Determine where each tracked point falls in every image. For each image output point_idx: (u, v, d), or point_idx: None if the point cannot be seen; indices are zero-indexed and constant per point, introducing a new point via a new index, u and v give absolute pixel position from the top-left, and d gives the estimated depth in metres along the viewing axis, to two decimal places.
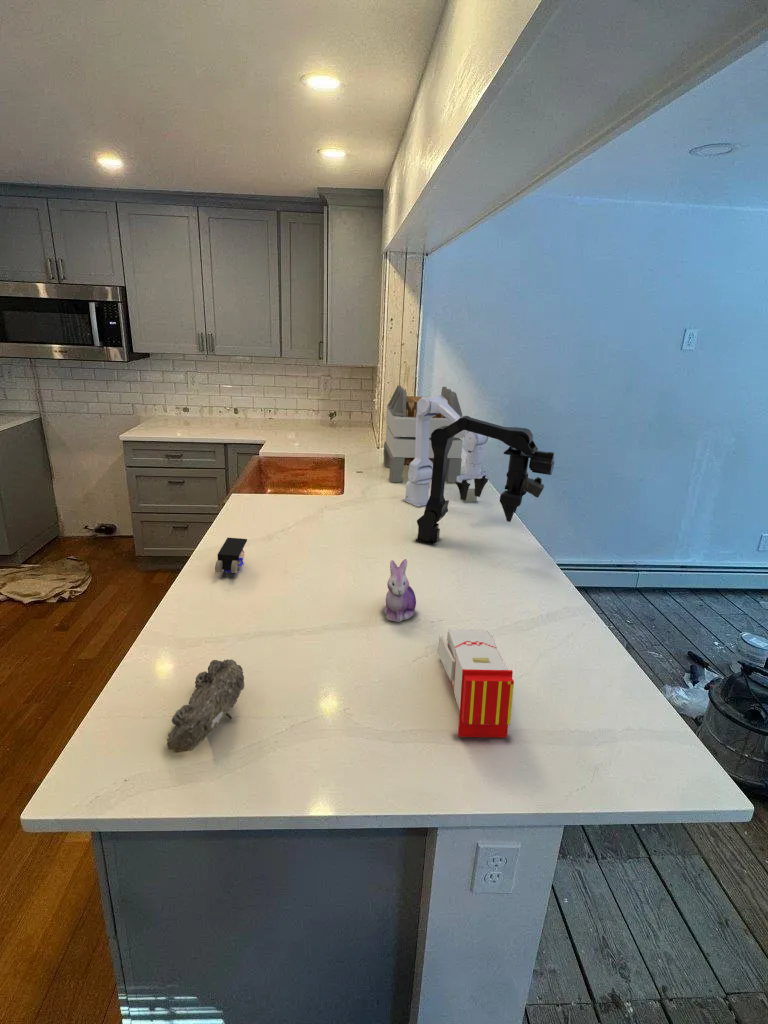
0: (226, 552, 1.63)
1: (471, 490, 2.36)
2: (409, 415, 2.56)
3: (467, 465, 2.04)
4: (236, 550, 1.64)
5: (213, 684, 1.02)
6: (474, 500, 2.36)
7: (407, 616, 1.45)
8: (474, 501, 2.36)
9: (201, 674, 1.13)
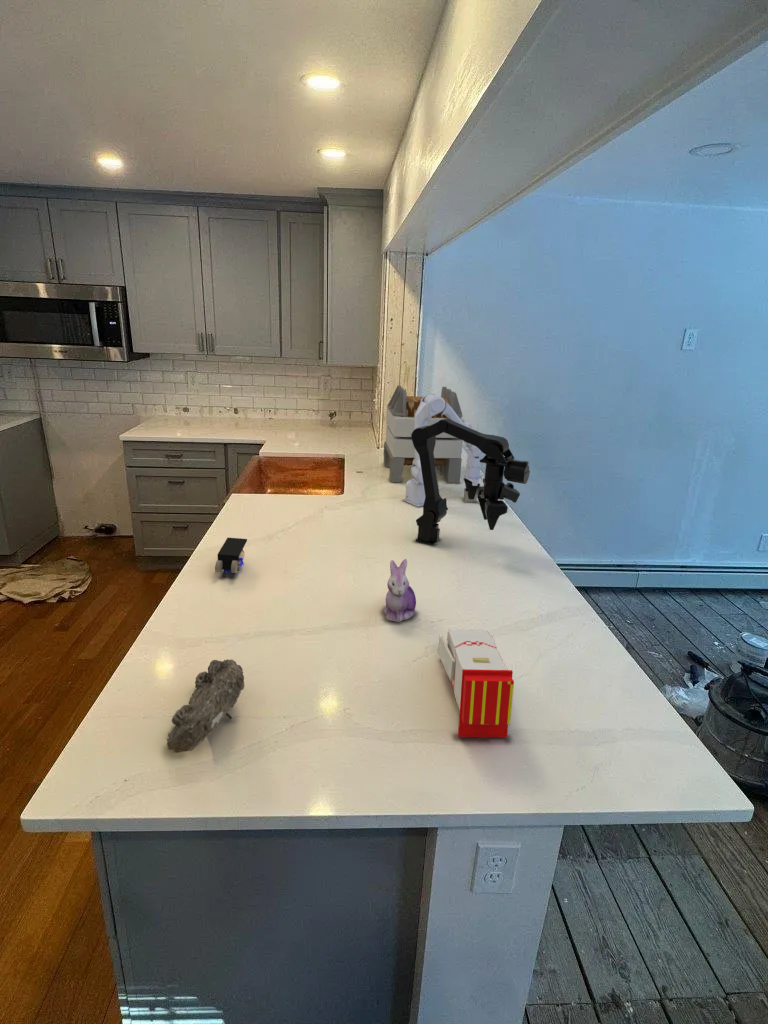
0: (226, 552, 1.63)
1: None
2: (409, 415, 2.56)
3: (473, 469, 2.31)
4: (236, 550, 1.64)
5: (213, 684, 1.02)
6: (474, 500, 2.36)
7: (407, 616, 1.45)
8: (474, 501, 2.36)
9: (201, 674, 1.13)
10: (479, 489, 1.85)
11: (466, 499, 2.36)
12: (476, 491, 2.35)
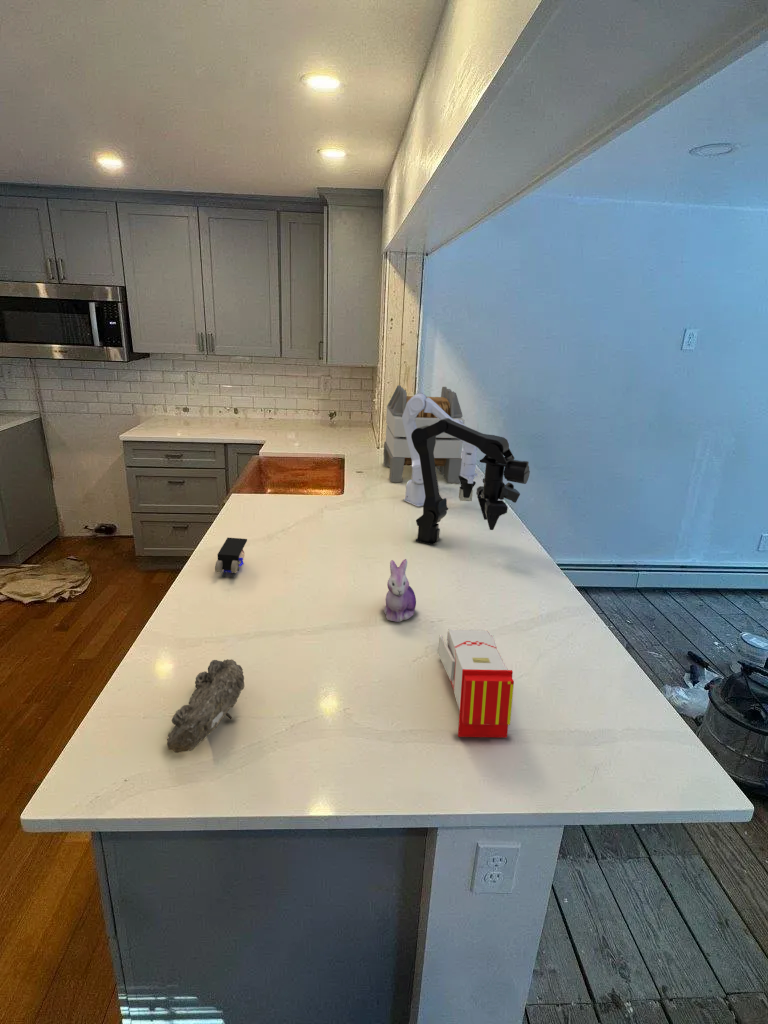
0: (226, 552, 1.63)
1: None
2: None
3: (468, 466, 2.21)
4: (236, 550, 1.64)
5: (213, 684, 1.02)
6: (469, 499, 2.27)
7: (407, 616, 1.45)
8: (469, 500, 2.27)
9: (201, 674, 1.13)
10: (479, 489, 1.85)
11: (461, 498, 2.26)
12: (472, 489, 2.26)
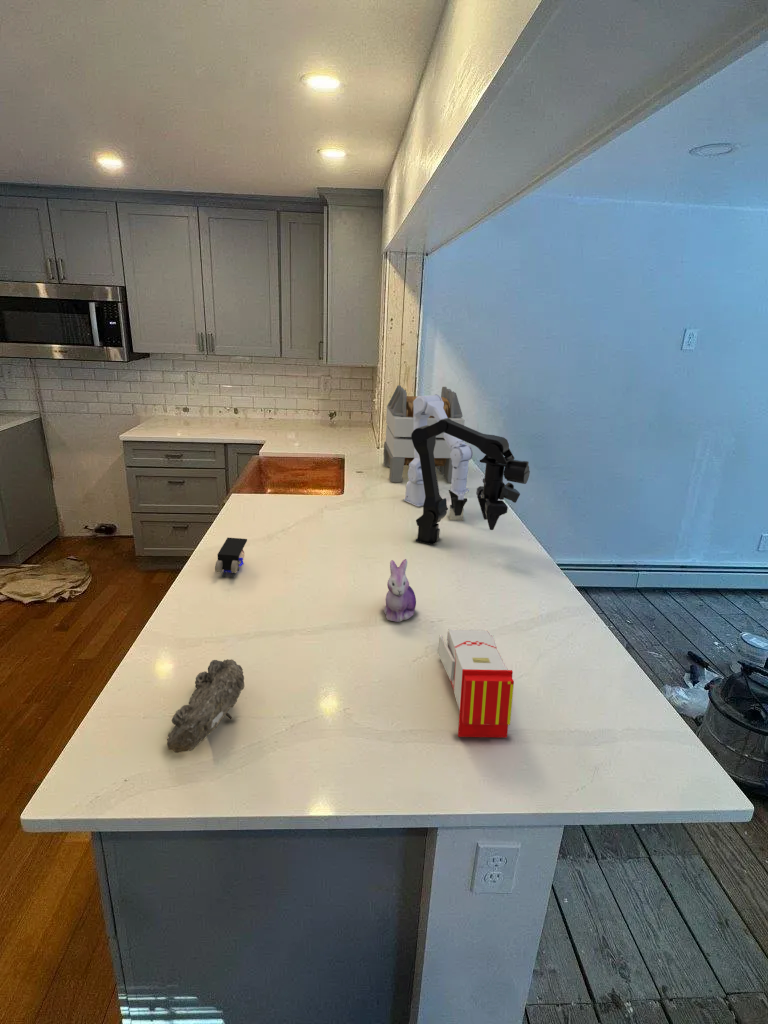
0: (226, 552, 1.63)
1: None
2: (409, 415, 2.56)
3: (459, 482, 2.09)
4: (236, 550, 1.64)
5: (213, 684, 1.02)
6: (460, 518, 2.15)
7: (407, 616, 1.45)
8: (460, 519, 2.15)
9: (201, 674, 1.13)
10: (479, 489, 1.85)
11: (452, 517, 2.15)
12: None
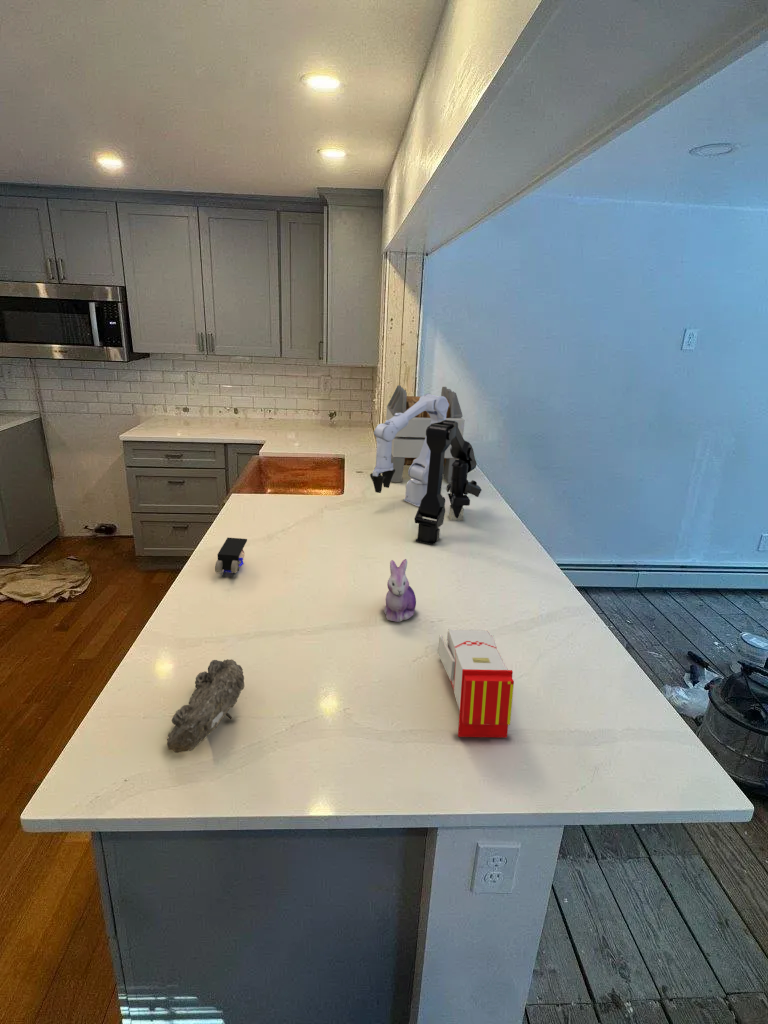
0: (226, 552, 1.63)
1: None
2: None
3: (379, 459, 2.13)
4: (236, 550, 1.64)
5: (213, 684, 1.02)
6: (460, 518, 2.15)
7: (407, 616, 1.45)
8: (460, 519, 2.15)
9: (201, 674, 1.13)
10: (448, 486, 2.20)
11: (452, 517, 2.15)
12: (462, 508, 2.14)
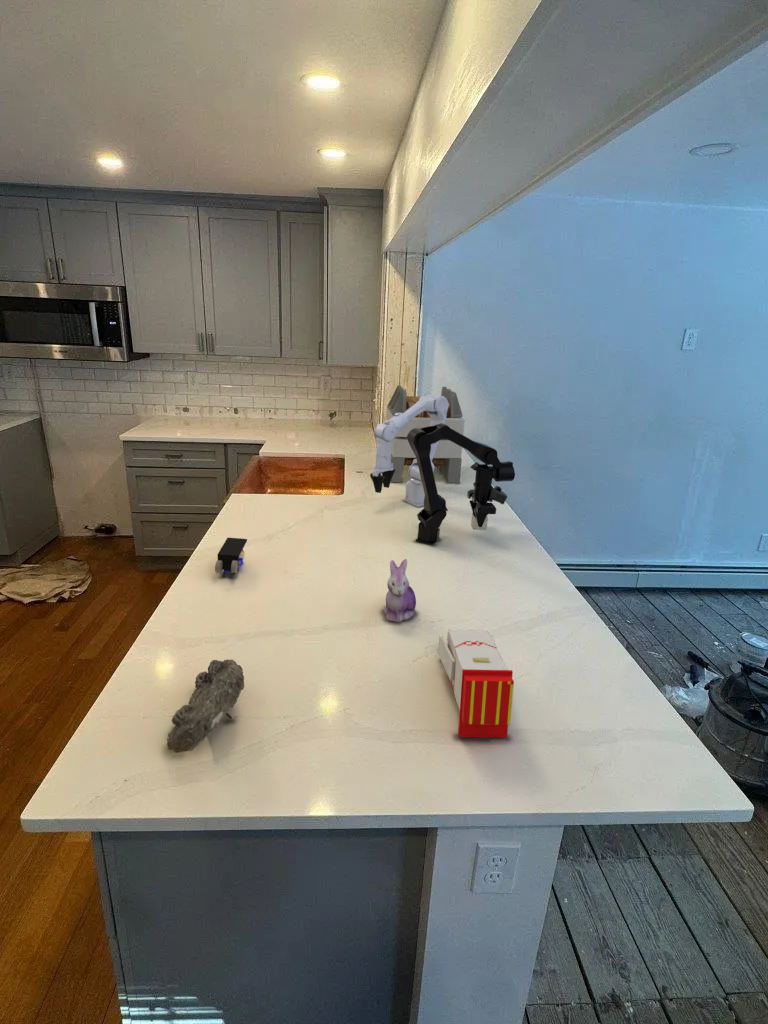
0: (226, 552, 1.63)
1: None
2: None
3: (379, 459, 2.13)
4: (236, 550, 1.64)
5: (213, 684, 1.02)
6: (483, 528, 1.97)
7: (407, 616, 1.45)
8: (484, 528, 1.97)
9: (201, 674, 1.13)
10: (470, 492, 2.02)
11: (475, 526, 1.97)
12: None
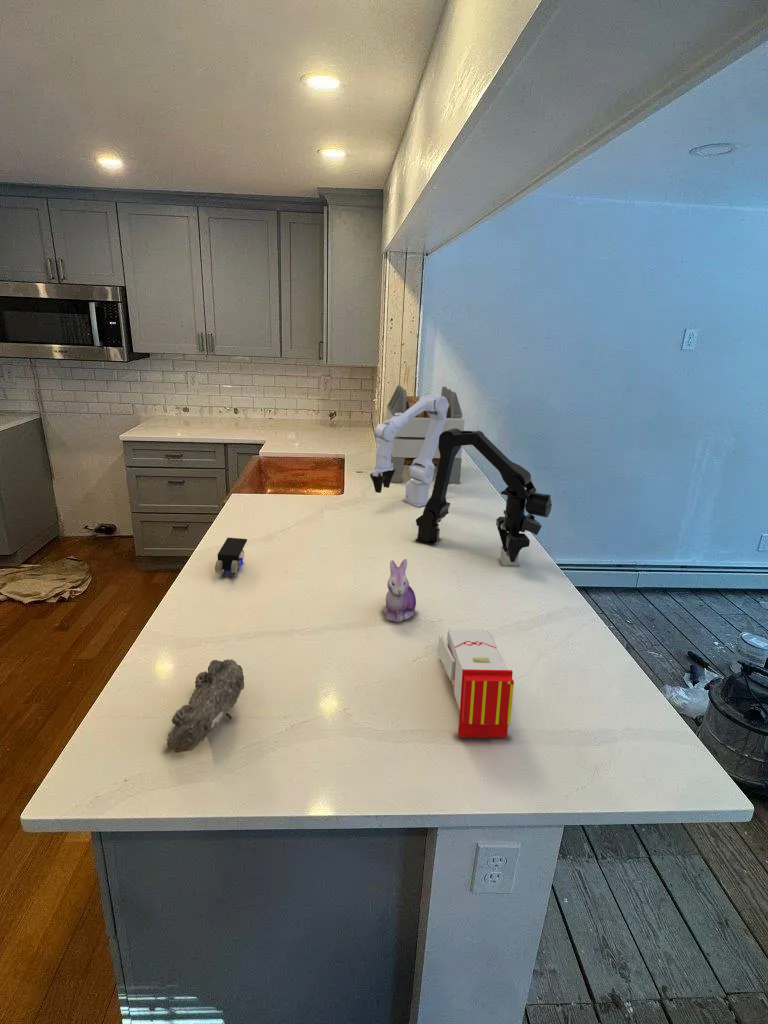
0: (226, 552, 1.63)
1: None
2: None
3: (379, 459, 2.13)
4: (236, 550, 1.64)
5: (213, 684, 1.02)
6: (514, 563, 1.79)
7: (407, 616, 1.45)
8: (515, 564, 1.79)
9: (201, 674, 1.13)
10: (499, 520, 1.83)
11: (504, 561, 1.78)
12: None
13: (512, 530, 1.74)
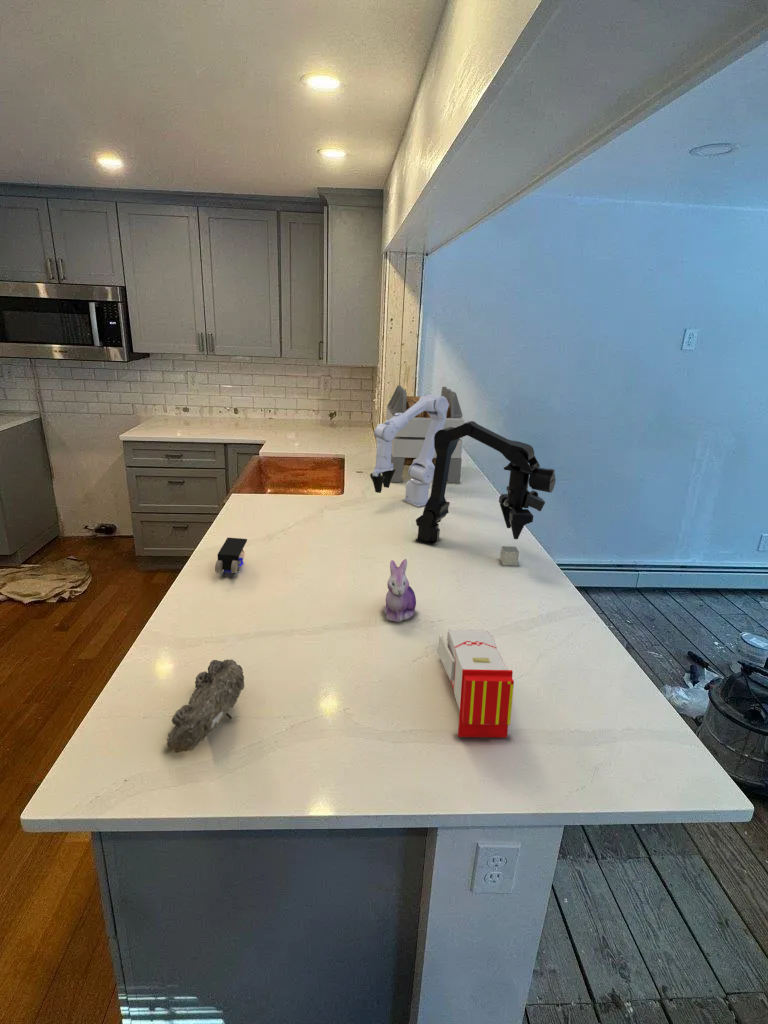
0: (226, 552, 1.63)
1: (510, 549, 1.79)
2: None
3: (379, 459, 2.13)
4: (236, 550, 1.64)
5: (213, 684, 1.02)
6: (514, 563, 1.79)
7: (407, 616, 1.45)
8: (515, 564, 1.79)
9: (201, 674, 1.13)
10: (502, 497, 1.80)
11: (504, 561, 1.78)
12: (518, 551, 1.78)
13: (515, 506, 1.71)
